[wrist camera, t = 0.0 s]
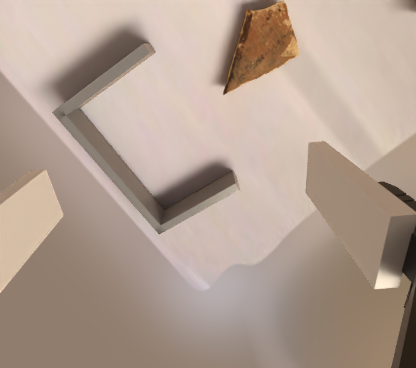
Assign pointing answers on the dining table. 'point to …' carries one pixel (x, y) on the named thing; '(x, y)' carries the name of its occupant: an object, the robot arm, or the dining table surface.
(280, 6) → the shard
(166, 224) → the box
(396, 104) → the dining table surface
